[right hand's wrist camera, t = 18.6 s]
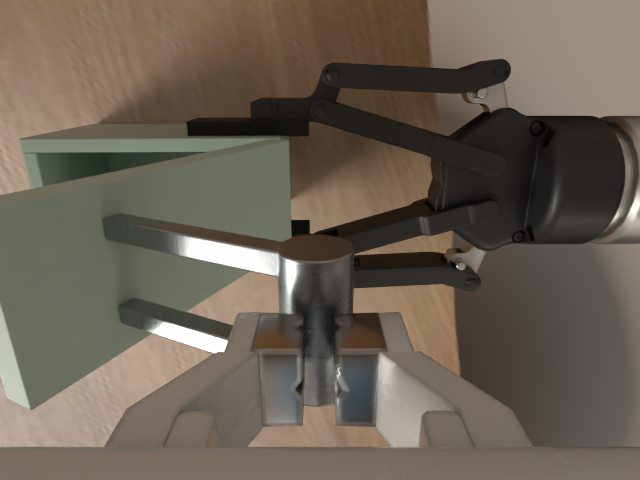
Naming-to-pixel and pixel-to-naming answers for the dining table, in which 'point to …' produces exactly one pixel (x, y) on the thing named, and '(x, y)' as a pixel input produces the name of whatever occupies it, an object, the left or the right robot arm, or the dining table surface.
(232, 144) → the chest
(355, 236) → the left robot arm
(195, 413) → the right robot arm
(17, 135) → the dining table surface
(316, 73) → the dining table surface
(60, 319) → the lid
